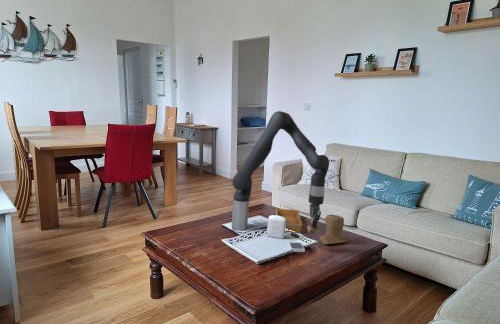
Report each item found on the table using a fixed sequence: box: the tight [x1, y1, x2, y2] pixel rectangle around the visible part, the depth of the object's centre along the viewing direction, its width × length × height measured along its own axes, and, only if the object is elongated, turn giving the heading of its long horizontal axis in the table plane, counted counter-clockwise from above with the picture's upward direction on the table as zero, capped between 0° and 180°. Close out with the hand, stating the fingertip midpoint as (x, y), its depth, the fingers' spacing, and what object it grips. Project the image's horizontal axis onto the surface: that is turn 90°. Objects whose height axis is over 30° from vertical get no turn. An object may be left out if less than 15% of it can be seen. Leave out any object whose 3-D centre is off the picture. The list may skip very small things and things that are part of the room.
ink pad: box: [287, 242, 306, 253], centre depth 180 cm, size 7×8×2 cm
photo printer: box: [266, 214, 286, 240], centre depth 194 cm, size 10×4×12 cm, turn 72°
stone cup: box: [319, 214, 347, 245], centre depth 192 cm, size 15×12×15 cm
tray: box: [275, 208, 303, 234], centre depth 217 cm, size 31×15×6 cm, turn 177°
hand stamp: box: [306, 217, 320, 235], centre depth 179 cm, size 5×5×8 cm
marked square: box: [304, 245, 322, 253], centre depth 181 cm, size 8×8×1 cm
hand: (313, 226), depth 179 cm, fingers closed on hand stamp, 3 cm apart
